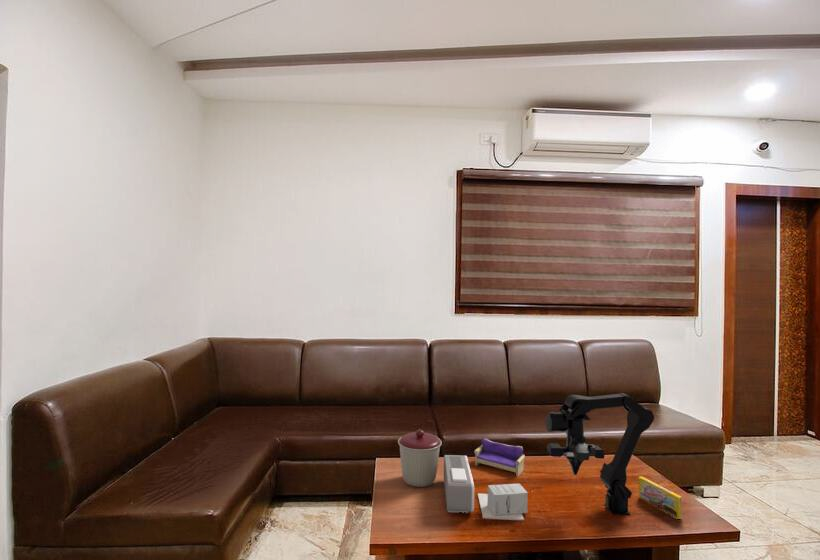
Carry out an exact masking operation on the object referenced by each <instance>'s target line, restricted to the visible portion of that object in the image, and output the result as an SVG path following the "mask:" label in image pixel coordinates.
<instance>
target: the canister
mask: <svg viewBox="0 0 820 560" xmlns="http://www.w3.org/2000/svg"><path fill="white" fill-rule="evenodd" d="M397 443H398V445H399V454H400V455H399V456H400V465H401V473H402V474H401V475H402V478H403V481H404V482H405V484H407V485H408V486H412V487H415V488H424V487H428V486H431V485H432V484H433V483H434V482H435V481H436V478H437V472H438V466H439V465H438V463H439V457H440V450H441V447H442V445H443V443H442V439H440V438H439V437H437V436H436V435H434V434H432V433H429V432H424V430H423V429H417V430H415V432H413V431H412V432H409V433H405V434H404V435H402V436H400V437H399V438H398V440H397Z"/></svg>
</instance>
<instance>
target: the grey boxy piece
mask: <svg viewBox="0 0 820 560" xmlns="http://www.w3.org/2000/svg"><path fill="white" fill-rule="evenodd" d="M469 463H470V462H469V459H468V456H467V455H458V454H457V455H455V454H444V456H443V484H444V494H445V501H446V502H445V503H446V511H447V512H448V513H459V512H462V514H463V513H464V512H465V514H469V512H472V513H473V512H474V511H475V483H474V479H473V475H472V471H471V468H470V464H469Z"/></svg>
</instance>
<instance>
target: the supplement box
mask: <svg viewBox="0 0 820 560" xmlns="http://www.w3.org/2000/svg"><path fill="white" fill-rule="evenodd" d="M487 494H488V502H487V505H488V507H489V508H490V510H491V511H492V513H493V514H494V515H505V514H519V513H522V514H528V495H529V493H528V491H527V490H526V489H525V488H524V487H523V486H522V485H521V483H508V484H507V483H505V484H490V485H489V484H488V485H487Z"/></svg>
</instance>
